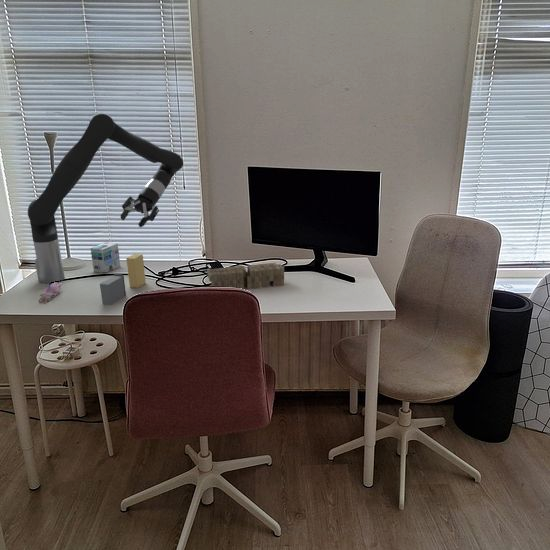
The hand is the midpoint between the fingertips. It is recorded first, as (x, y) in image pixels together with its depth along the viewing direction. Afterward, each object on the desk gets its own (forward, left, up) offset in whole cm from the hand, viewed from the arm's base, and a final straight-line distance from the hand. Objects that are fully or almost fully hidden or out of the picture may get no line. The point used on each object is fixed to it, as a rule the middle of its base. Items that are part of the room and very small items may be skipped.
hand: (130, 222), depth 197 cm
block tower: (+46, -10, -24) cm, 53 cm away
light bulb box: (-17, +13, -24) cm, 33 cm away
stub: (+3, -8, -24) cm, 25 cm away
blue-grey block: (-1, -23, -24) cm, 33 cm away
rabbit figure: (-27, -19, -24) cm, 41 cm away
